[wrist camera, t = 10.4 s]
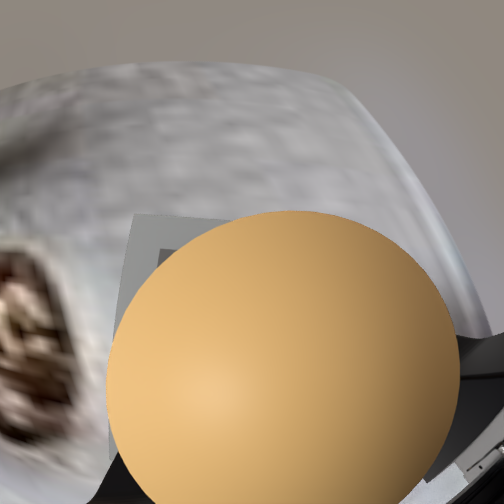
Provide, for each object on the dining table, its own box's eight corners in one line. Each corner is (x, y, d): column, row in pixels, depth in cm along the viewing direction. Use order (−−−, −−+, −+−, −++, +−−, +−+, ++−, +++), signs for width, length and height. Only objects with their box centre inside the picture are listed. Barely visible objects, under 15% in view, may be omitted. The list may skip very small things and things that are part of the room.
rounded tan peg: (252, 414, 14) (310, 580, 2) (188, 360, 15) (45, 396, 3) (307, 352, 15) (496, 348, 3) (244, 299, 16) (280, 149, 4)
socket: (360, 469, 14) (378, 484, 12) (113, 455, 14) (97, 469, 11) (371, 239, 19) (390, 224, 17) (137, 218, 19) (124, 199, 16)
